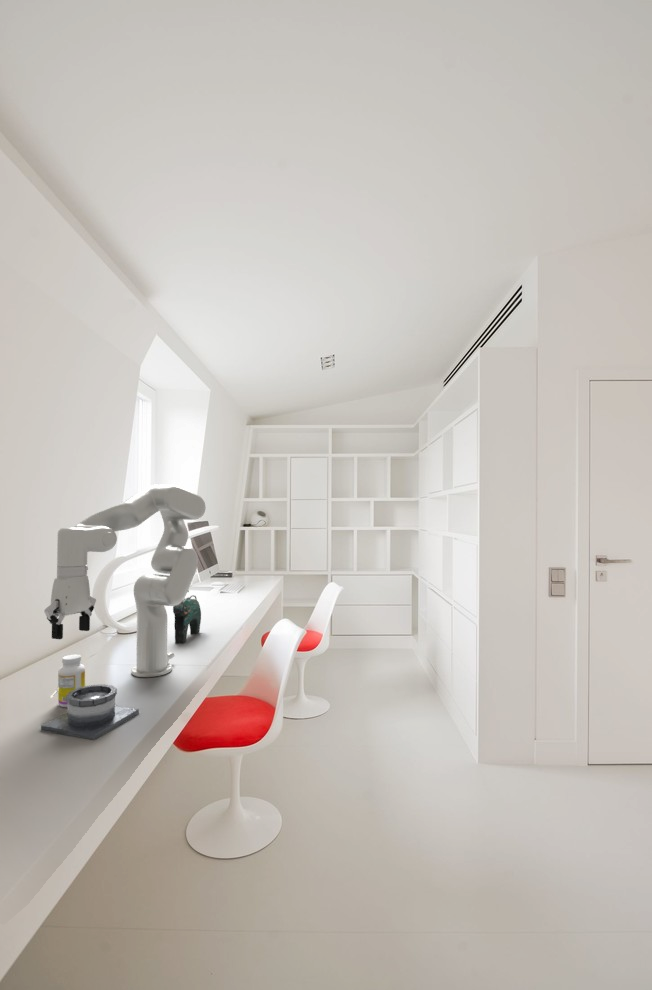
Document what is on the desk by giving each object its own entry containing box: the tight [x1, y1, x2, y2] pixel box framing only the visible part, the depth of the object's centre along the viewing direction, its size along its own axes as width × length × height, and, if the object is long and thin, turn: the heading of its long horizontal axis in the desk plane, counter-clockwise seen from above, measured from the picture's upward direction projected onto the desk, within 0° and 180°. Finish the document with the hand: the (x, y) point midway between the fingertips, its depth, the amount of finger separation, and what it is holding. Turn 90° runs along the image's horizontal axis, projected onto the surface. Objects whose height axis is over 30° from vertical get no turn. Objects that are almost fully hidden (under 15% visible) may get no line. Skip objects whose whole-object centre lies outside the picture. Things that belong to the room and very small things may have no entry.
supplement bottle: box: [57, 654, 86, 708], centre depth 146 cm, size 7×7×13 cm
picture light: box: [49, 686, 58, 699], centre depth 157 cm, size 14×4×2 cm, turn 12°
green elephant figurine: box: [172, 589, 202, 645], centre depth 215 cm, size 20×6×20 cm, turn 171°
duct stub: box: [40, 683, 140, 741], centre depth 134 cm, size 16×16×7 cm
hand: (71, 634), depth 146 cm, fingers open, 9 cm apart
